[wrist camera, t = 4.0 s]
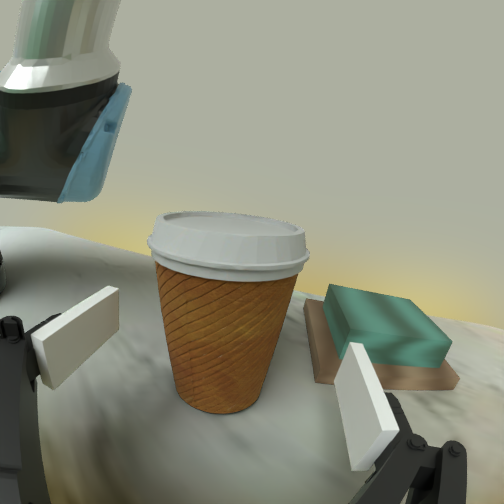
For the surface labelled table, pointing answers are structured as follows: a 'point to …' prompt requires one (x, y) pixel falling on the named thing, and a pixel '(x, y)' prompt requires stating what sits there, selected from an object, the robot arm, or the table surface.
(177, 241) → the disposable coffee cup
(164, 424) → the table surface
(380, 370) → the display stand
